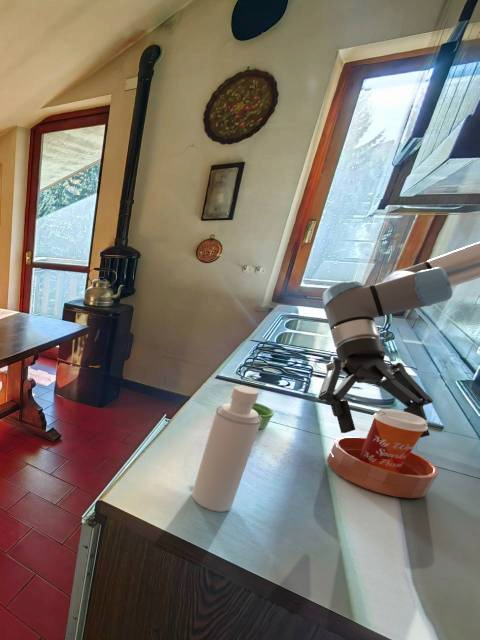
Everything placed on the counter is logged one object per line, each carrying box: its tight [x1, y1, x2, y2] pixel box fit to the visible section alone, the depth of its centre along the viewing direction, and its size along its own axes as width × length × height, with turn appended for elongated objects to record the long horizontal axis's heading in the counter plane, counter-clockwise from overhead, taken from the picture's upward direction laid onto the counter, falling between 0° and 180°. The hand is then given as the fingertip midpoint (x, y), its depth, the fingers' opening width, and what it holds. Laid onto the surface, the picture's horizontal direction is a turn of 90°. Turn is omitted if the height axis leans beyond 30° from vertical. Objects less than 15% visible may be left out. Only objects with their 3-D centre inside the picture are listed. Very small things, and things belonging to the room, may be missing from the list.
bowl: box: [326, 435, 439, 499], centre depth 82 cm, size 15×15×6 cm
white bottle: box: [191, 385, 262, 513], centre depth 70 cm, size 7×7×25 cm
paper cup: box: [359, 408, 429, 472], centre depth 80 cm, size 8×8×14 cm
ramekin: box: [252, 402, 275, 430], centre depth 104 cm, size 9×9×4 cm
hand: (384, 434), depth 81 cm, fingers open, 13 cm apart
